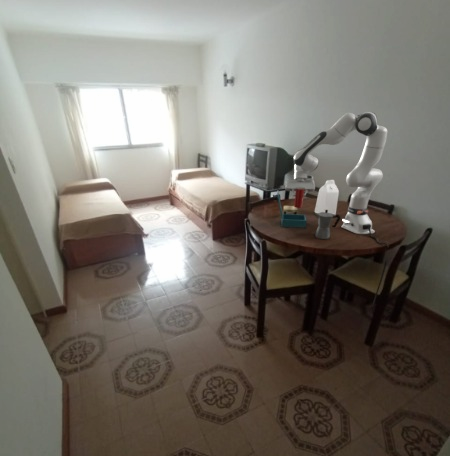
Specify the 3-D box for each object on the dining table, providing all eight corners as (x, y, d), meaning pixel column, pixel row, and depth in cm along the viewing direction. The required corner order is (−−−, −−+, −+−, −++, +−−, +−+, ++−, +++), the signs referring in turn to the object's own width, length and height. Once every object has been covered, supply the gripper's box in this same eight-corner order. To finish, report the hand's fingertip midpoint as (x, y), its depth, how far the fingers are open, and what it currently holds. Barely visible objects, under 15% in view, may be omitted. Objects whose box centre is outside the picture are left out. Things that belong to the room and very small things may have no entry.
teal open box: (303, 222, 205) (304, 214, 202) (305, 228, 193) (306, 220, 191) (281, 221, 207) (282, 213, 204) (281, 227, 196) (282, 219, 193)
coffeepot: (311, 237, 179) (315, 211, 170) (312, 232, 186) (316, 206, 177) (336, 241, 173) (341, 213, 165) (336, 235, 181) (341, 209, 172)
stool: (295, 215, 217) (296, 206, 214) (296, 220, 209) (297, 209, 205) (282, 215, 219) (283, 205, 215) (283, 219, 210) (284, 209, 206)
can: (303, 207, 195) (305, 188, 188) (296, 208, 194) (298, 189, 187) (299, 205, 199) (302, 186, 193) (292, 205, 198) (294, 187, 192)
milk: (326, 210, 228) (332, 178, 216) (335, 214, 219) (342, 181, 206) (314, 212, 225) (319, 179, 212) (323, 216, 216) (328, 182, 203)
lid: (278, 190, 197) (271, 191, 198) (278, 194, 185) (271, 196, 187) (282, 213, 204) (276, 214, 205) (282, 218, 193) (276, 220, 194)
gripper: (285, 175, 194) (284, 193, 191) (315, 176, 191) (315, 194, 188) (285, 181, 200) (284, 197, 197) (313, 181, 197) (313, 198, 194)
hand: (299, 196), depth 192 cm, fingers closed on can, 5 cm apart
